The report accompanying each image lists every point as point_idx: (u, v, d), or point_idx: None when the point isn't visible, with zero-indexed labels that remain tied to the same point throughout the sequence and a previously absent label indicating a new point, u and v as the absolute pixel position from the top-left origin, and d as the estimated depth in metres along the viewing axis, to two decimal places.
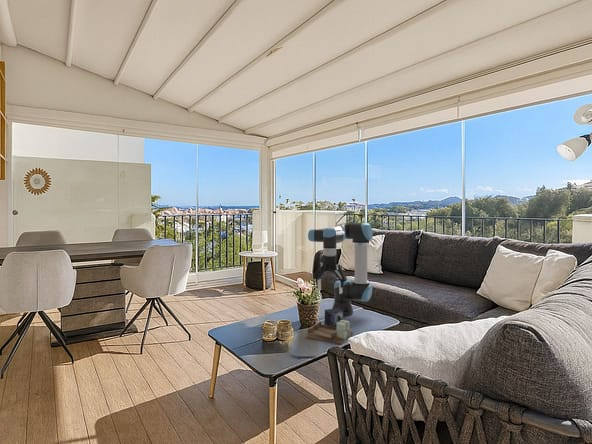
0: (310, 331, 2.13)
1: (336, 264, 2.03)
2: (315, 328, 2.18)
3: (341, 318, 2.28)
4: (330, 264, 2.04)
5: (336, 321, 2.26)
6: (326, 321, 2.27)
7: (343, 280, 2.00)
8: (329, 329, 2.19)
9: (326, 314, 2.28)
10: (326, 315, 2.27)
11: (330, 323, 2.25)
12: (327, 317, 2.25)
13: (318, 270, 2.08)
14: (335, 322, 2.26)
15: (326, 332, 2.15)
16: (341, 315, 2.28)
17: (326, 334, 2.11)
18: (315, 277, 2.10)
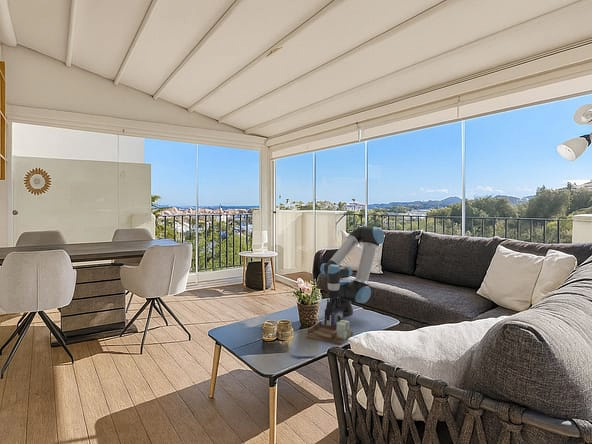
0: (310, 331, 2.13)
1: (331, 298, 2.25)
2: (315, 328, 2.18)
3: (341, 318, 2.28)
4: None
5: (336, 321, 2.26)
6: (326, 321, 2.27)
7: None
8: (329, 329, 2.19)
9: None
10: (326, 315, 2.27)
11: None
12: None
13: None
14: (335, 322, 2.26)
15: (326, 332, 2.15)
16: (341, 315, 2.28)
17: (326, 334, 2.11)
18: None
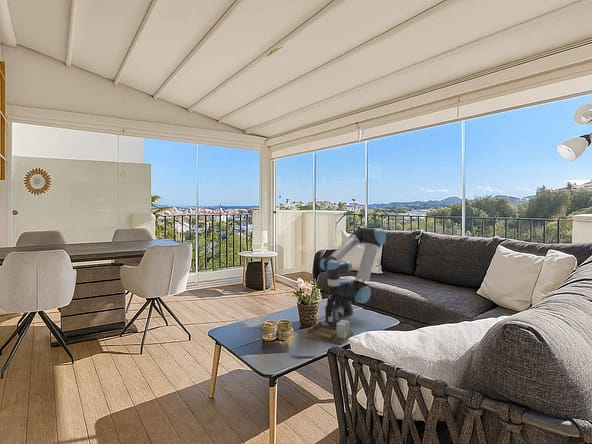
0: (310, 331, 2.13)
1: (332, 294, 2.25)
2: (315, 328, 2.18)
3: (342, 314, 2.28)
4: None
5: (337, 317, 2.27)
6: (327, 317, 2.28)
7: None
8: (329, 329, 2.19)
9: None
10: (327, 312, 2.27)
11: None
12: None
13: None
14: (336, 319, 2.26)
15: (326, 332, 2.15)
16: (342, 311, 2.28)
17: (326, 334, 2.11)
18: None
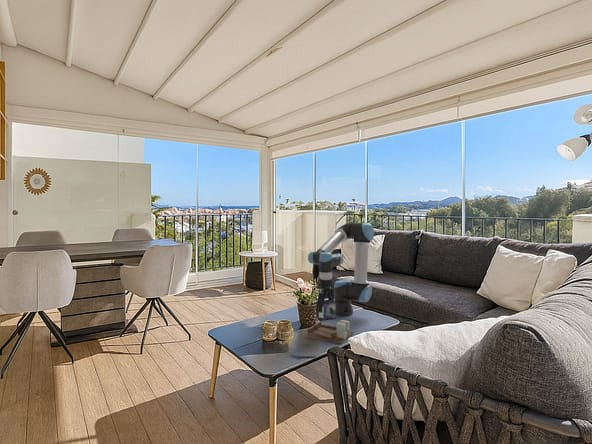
0: (310, 331, 2.13)
1: (323, 288, 2.09)
2: (315, 328, 2.18)
3: (334, 310, 2.12)
4: None
5: (328, 313, 2.11)
6: (317, 313, 2.12)
7: None
8: (329, 329, 2.19)
9: (317, 306, 2.12)
10: (318, 307, 2.11)
11: None
12: None
13: None
14: (327, 315, 2.11)
15: (326, 332, 2.15)
16: (334, 307, 2.12)
17: (326, 334, 2.11)
18: None
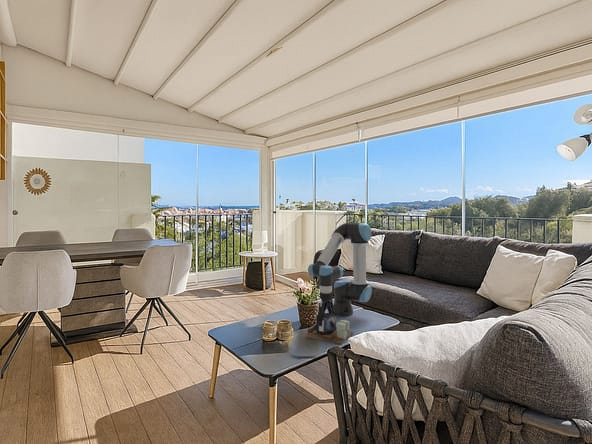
0: (310, 331, 2.13)
1: (323, 302, 2.10)
2: (315, 328, 2.18)
3: (334, 323, 2.13)
4: None
5: (328, 327, 2.11)
6: (318, 327, 2.12)
7: None
8: None
9: None
10: (318, 321, 2.12)
11: None
12: None
13: None
14: (327, 328, 2.11)
15: None
16: (334, 320, 2.13)
17: (326, 334, 2.11)
18: None
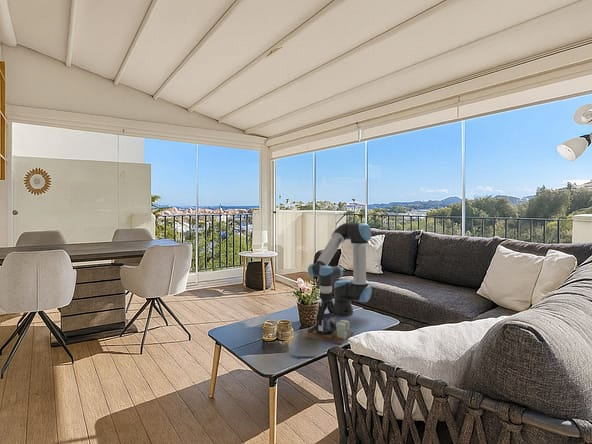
0: (310, 331, 2.13)
1: (323, 302, 2.10)
2: (315, 328, 2.18)
3: (334, 324, 2.13)
4: None
5: (328, 327, 2.11)
6: None
7: (317, 318, 2.07)
8: None
9: None
10: None
11: None
12: None
13: None
14: (327, 329, 2.11)
15: None
16: (334, 321, 2.13)
17: (326, 334, 2.11)
18: None
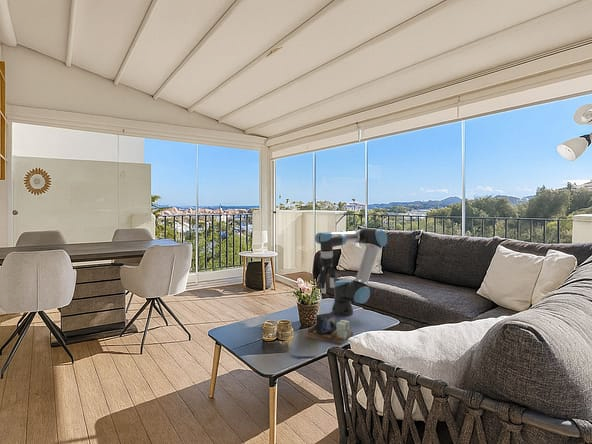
0: (310, 331, 2.13)
1: (325, 266, 2.22)
2: (315, 328, 2.18)
3: (334, 324, 2.13)
4: None
5: (328, 327, 2.11)
6: (318, 327, 2.13)
7: None
8: None
9: (317, 319, 2.13)
10: (318, 321, 2.12)
11: (322, 329, 2.10)
12: (319, 323, 2.11)
13: None
14: (327, 329, 2.11)
15: None
16: (334, 321, 2.13)
17: (326, 334, 2.11)
18: None
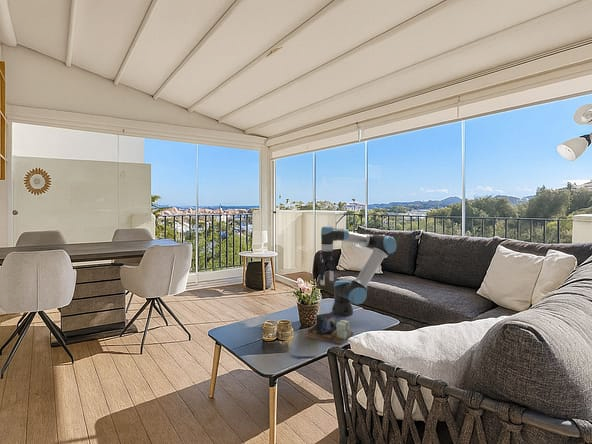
0: (310, 331, 2.13)
1: (325, 259, 2.29)
2: (315, 328, 2.18)
3: (334, 324, 2.13)
4: None
5: (328, 327, 2.11)
6: (318, 327, 2.13)
7: (319, 273, 2.26)
8: None
9: (317, 319, 2.13)
10: (318, 321, 2.12)
11: (322, 329, 2.10)
12: (319, 323, 2.11)
13: None
14: (327, 329, 2.11)
15: None
16: (334, 321, 2.13)
17: (326, 334, 2.11)
18: None
